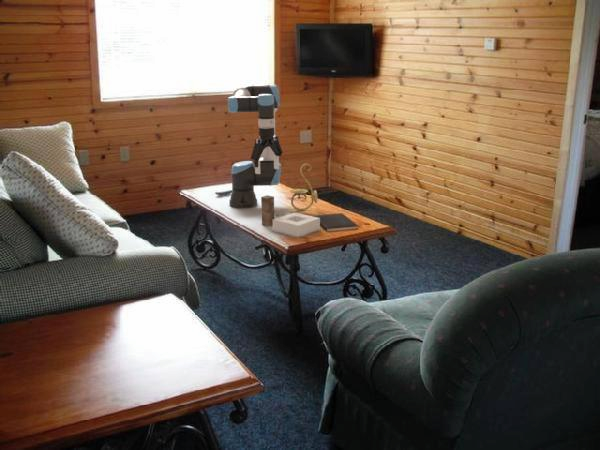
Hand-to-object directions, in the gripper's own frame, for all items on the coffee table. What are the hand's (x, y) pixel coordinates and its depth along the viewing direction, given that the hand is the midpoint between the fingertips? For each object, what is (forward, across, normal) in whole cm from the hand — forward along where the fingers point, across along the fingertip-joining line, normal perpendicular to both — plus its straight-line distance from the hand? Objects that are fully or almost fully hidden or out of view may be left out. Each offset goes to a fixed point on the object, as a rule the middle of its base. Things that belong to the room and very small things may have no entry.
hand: (267, 171), depth 339 cm
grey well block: (+27, 0, -18) cm, 32 cm away
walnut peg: (+27, 0, 0) cm, 27 cm away
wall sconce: (+27, +31, +3) cm, 41 cm away
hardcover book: (+27, +21, -25) cm, 43 cm away
